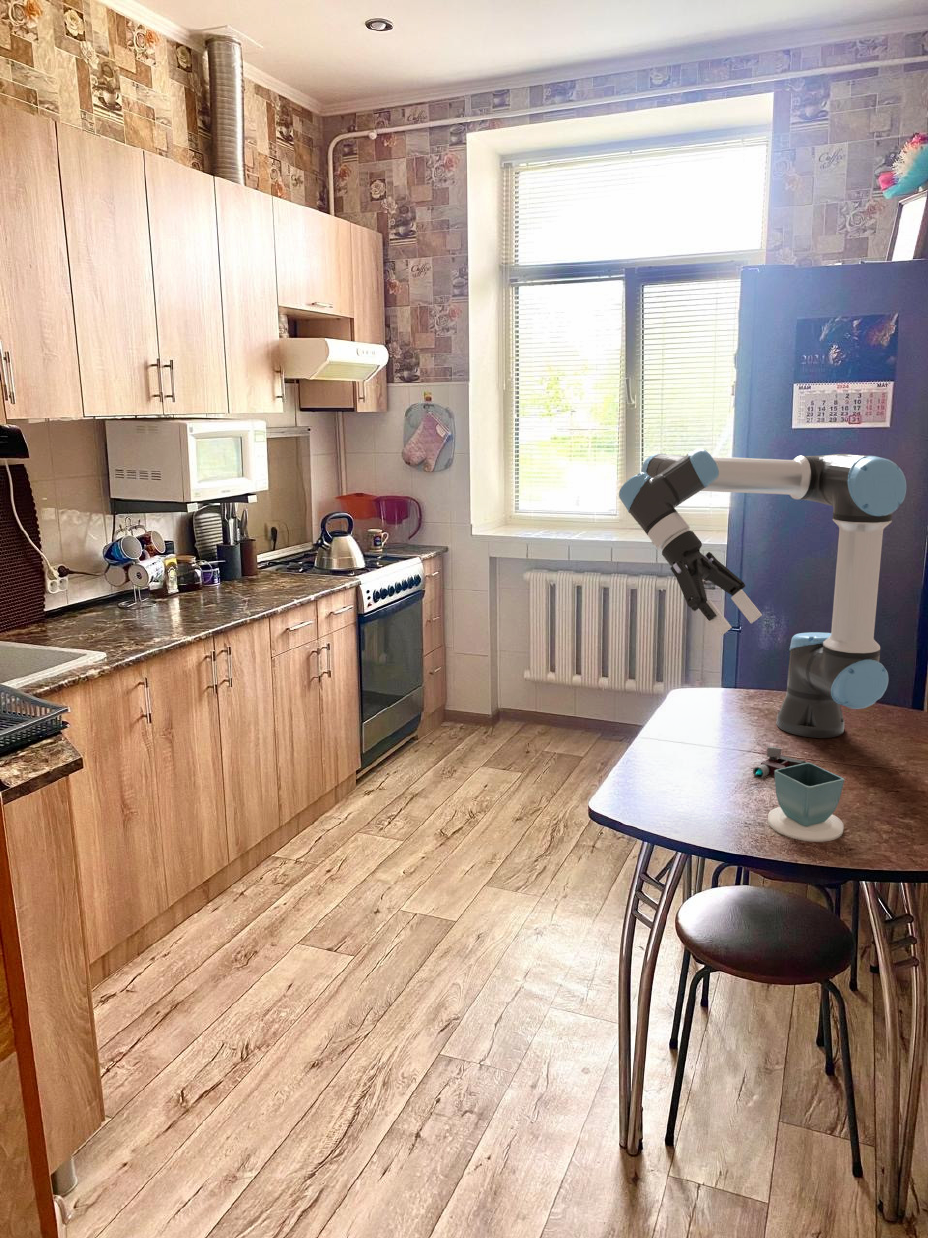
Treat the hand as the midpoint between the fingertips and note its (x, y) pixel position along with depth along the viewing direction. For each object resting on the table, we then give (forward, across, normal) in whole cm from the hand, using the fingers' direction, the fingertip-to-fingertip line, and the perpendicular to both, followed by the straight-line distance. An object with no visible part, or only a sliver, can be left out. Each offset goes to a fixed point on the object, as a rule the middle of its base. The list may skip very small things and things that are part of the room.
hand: (741, 625), depth 179 cm
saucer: (+36, +7, -11) cm, 39 cm away
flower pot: (+36, +7, -11) cm, 38 cm away
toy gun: (+28, -14, -20) cm, 37 cm away
